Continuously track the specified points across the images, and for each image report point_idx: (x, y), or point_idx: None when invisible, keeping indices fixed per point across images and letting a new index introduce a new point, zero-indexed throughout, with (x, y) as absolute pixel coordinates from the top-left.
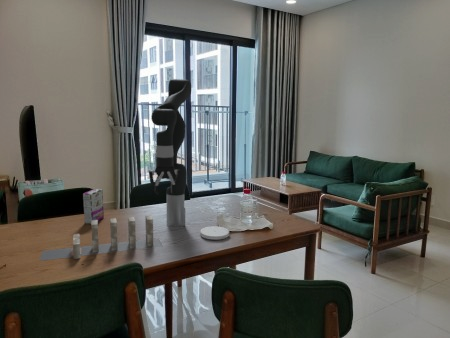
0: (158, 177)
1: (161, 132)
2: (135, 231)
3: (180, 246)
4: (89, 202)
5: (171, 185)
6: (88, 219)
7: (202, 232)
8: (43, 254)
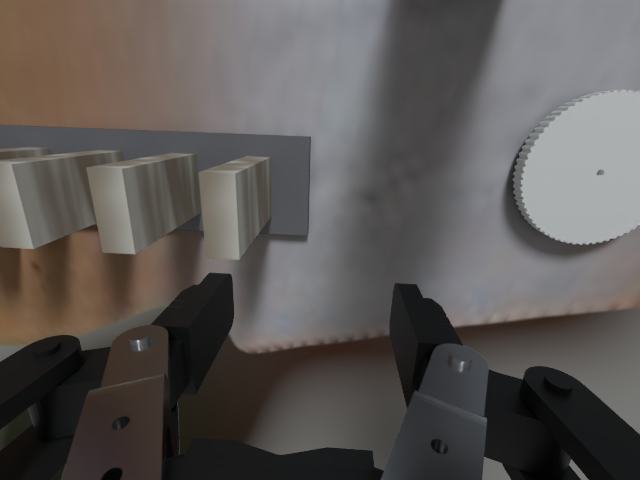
0: (125, 434)
1: None
2: (167, 233)
3: (380, 238)
4: None
5: (409, 370)
6: None
7: (530, 170)
8: None
